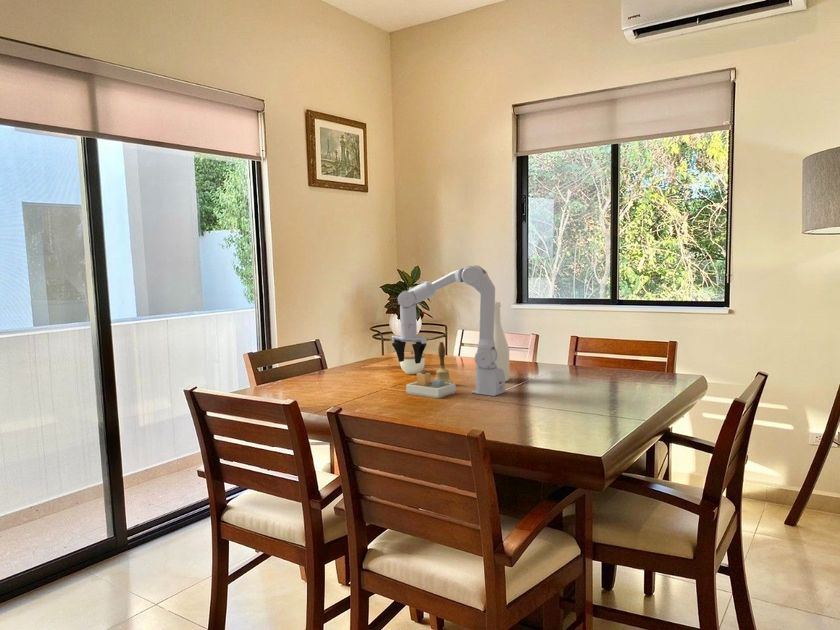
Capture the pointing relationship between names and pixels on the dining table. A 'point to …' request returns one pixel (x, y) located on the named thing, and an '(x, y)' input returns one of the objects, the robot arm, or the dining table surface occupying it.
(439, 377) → the hand bell
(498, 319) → the wine bottle
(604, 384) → the dining table surface
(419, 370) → the lidded jar
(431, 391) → the box
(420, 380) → the tan wooden block
